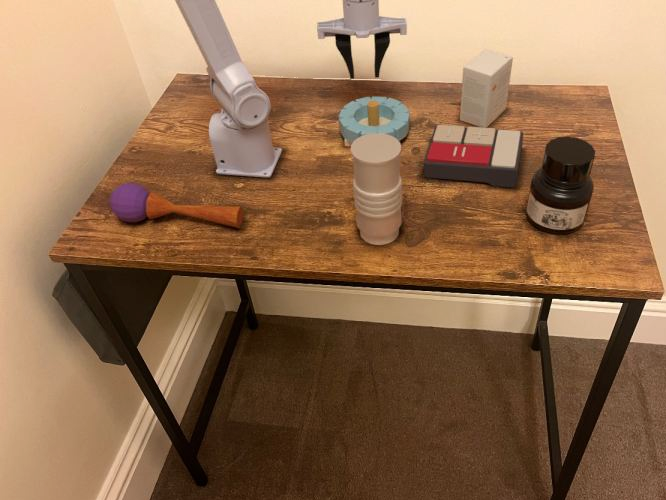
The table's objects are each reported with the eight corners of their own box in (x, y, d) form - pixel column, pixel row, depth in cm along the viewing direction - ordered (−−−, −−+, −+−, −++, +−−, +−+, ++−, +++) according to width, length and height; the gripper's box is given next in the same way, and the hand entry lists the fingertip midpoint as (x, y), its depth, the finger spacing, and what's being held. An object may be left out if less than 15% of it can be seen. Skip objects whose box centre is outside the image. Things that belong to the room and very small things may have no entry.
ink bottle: (516, 227, 93) (528, 161, 84) (529, 192, 99) (541, 126, 90) (582, 242, 91) (601, 176, 82) (591, 205, 96) (610, 139, 87)
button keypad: (435, 121, 106) (524, 127, 103) (435, 142, 109) (521, 149, 106) (422, 159, 99) (517, 166, 96) (423, 180, 102) (515, 188, 99)
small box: (480, 101, 117) (485, 47, 110) (506, 109, 115) (514, 55, 107) (458, 120, 113) (462, 66, 105) (485, 130, 111) (491, 75, 103)
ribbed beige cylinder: (406, 219, 95) (406, 135, 84) (396, 250, 90) (395, 165, 79) (363, 213, 96) (357, 130, 85) (351, 243, 92) (344, 159, 81)
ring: (334, 145, 107) (332, 132, 105) (347, 107, 115) (346, 94, 113) (404, 149, 105) (404, 136, 103) (412, 111, 113) (412, 98, 111)
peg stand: (344, 146, 108) (342, 116, 104) (353, 118, 114) (351, 88, 110) (395, 149, 107) (395, 119, 103) (402, 121, 113) (402, 91, 109)
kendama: (231, 221, 90) (98, 202, 91) (238, 244, 95) (112, 227, 96) (242, 189, 93) (113, 172, 94) (248, 214, 98) (126, 197, 99)
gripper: (313, 8, 94) (322, 89, 104) (408, 3, 95) (408, 85, 105) (314, -11, 99) (322, 68, 109) (404, -16, 99) (404, 64, 109)
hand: (364, 75), depth 107 cm, fingers open, 4 cm apart
